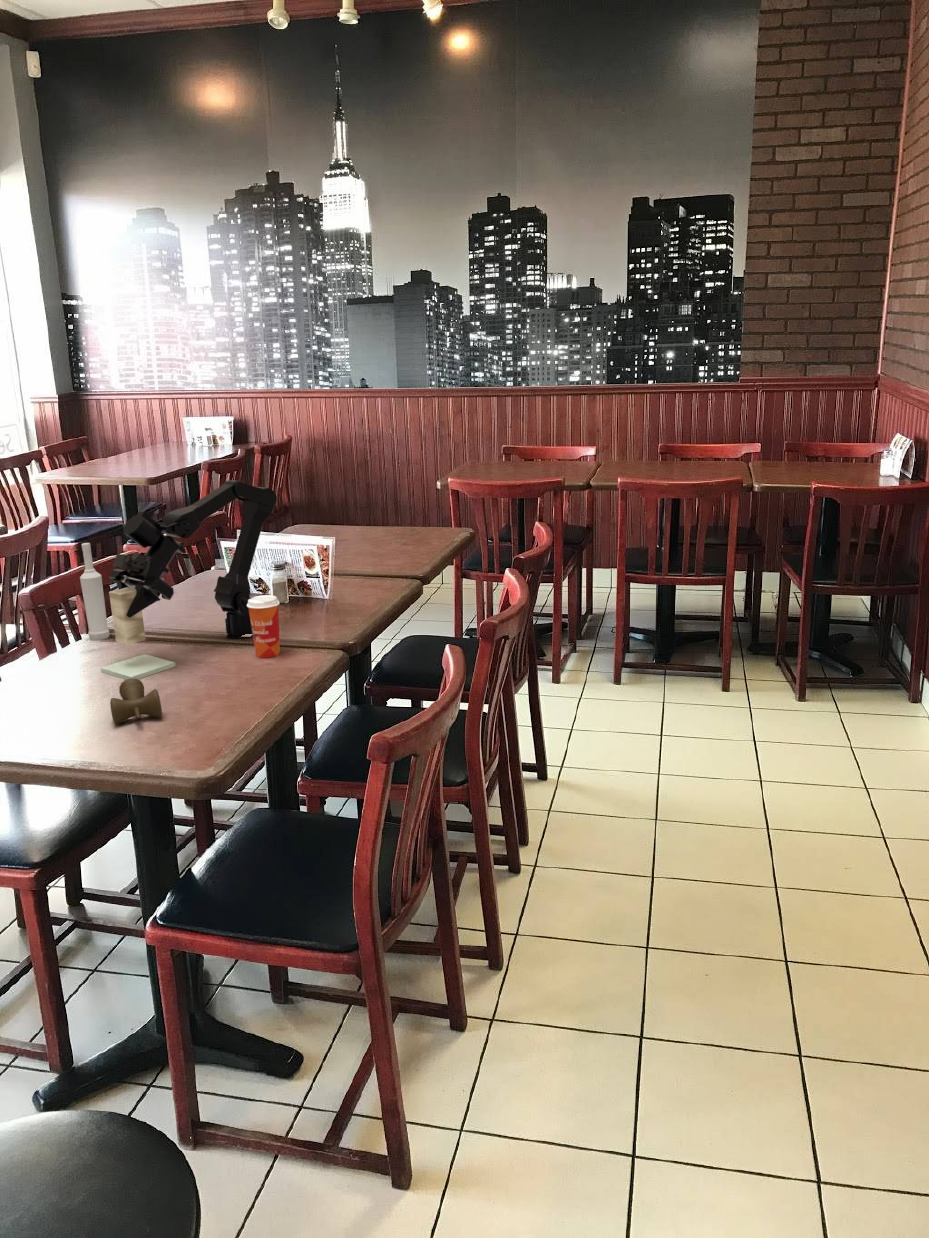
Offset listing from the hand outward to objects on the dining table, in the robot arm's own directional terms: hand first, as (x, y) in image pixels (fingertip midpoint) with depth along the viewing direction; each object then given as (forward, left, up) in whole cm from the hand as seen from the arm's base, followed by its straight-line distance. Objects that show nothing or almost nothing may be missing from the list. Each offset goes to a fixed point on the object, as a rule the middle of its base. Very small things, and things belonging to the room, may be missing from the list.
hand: (121, 614), depth 230 cm
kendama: (-14, +27, -14) cm, 34 cm away
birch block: (-1, -1, -7) cm, 7 cm away
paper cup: (-30, -12, -14) cm, 35 cm away
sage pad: (-2, -1, -13) cm, 14 cm away
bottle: (+20, -26, -14) cm, 35 cm away
